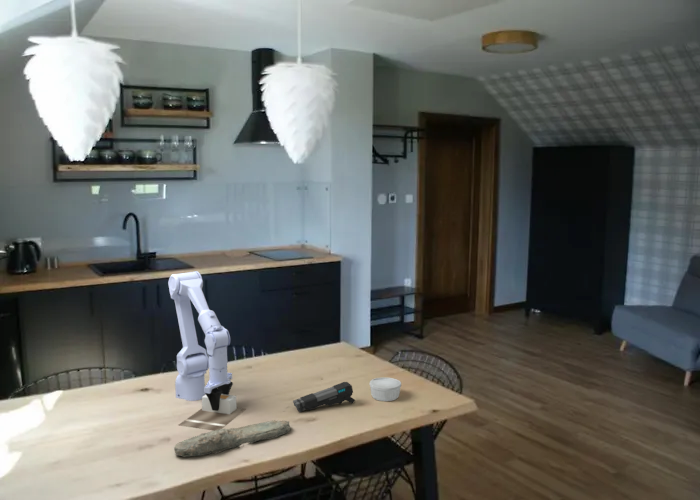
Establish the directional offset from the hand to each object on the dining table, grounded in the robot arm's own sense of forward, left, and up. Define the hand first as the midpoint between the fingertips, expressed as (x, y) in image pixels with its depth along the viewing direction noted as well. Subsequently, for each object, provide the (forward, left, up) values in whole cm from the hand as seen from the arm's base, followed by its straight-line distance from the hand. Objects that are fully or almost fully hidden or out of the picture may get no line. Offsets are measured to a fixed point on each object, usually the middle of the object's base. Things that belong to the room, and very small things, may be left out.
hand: (219, 407), depth 195 cm
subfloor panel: (+1, -5, -2) cm, 6 cm away
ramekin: (+48, +31, -2) cm, 57 cm away
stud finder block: (0, 0, -1) cm, 1 cm away
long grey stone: (+15, -17, -2) cm, 23 cm away
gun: (+31, +16, -2) cm, 35 cm away
